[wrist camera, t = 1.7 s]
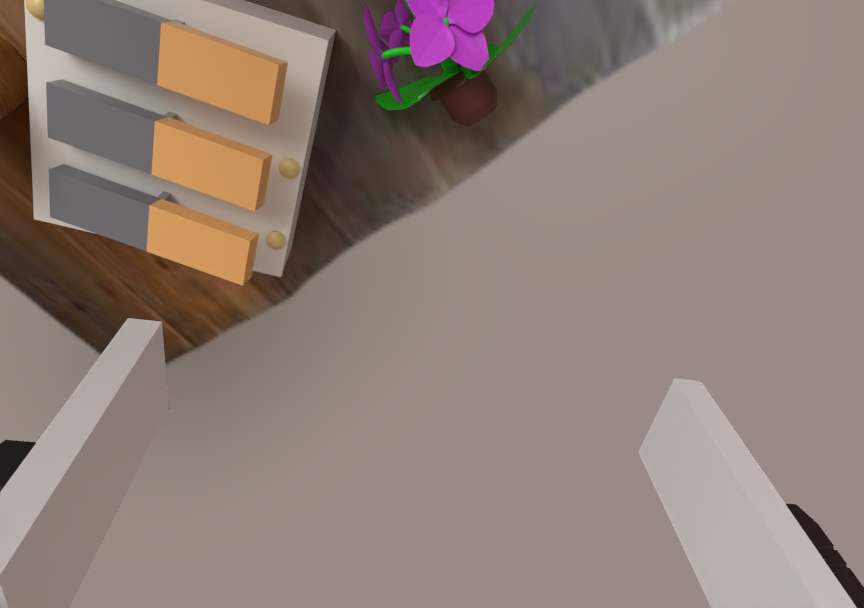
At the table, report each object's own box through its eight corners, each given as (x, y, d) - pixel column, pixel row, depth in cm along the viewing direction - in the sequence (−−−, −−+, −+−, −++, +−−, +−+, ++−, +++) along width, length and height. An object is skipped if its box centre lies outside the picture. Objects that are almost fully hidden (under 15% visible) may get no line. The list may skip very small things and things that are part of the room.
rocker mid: (63, 132, 44) (47, 137, 42) (62, 79, 42) (46, 82, 41) (263, 204, 44) (254, 211, 43) (272, 154, 42) (263, 159, 41)
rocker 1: (62, 43, 41) (45, 44, 39) (61, -20, 39) (43, -20, 37) (278, 120, 41) (269, 125, 39) (288, 62, 39) (278, 64, 37)
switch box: (69, 192, 53) (23, 226, 46) (66, -58, 43) (8, -58, 36) (291, 246, 56) (278, 285, 50) (336, 29, 47) (326, 43, 40)
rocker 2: (64, 210, 47) (49, 217, 46) (63, 164, 45) (48, 169, 44) (251, 277, 47) (242, 285, 46) (258, 233, 45) (250, 241, 44)
